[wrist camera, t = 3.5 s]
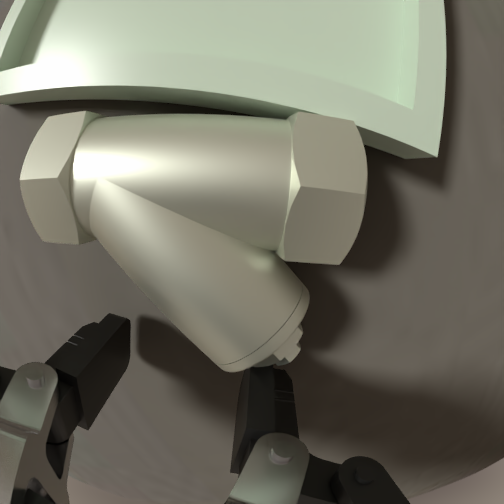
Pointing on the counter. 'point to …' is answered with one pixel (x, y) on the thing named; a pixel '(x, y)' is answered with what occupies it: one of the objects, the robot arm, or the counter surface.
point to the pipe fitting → (206, 214)
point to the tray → (241, 59)
